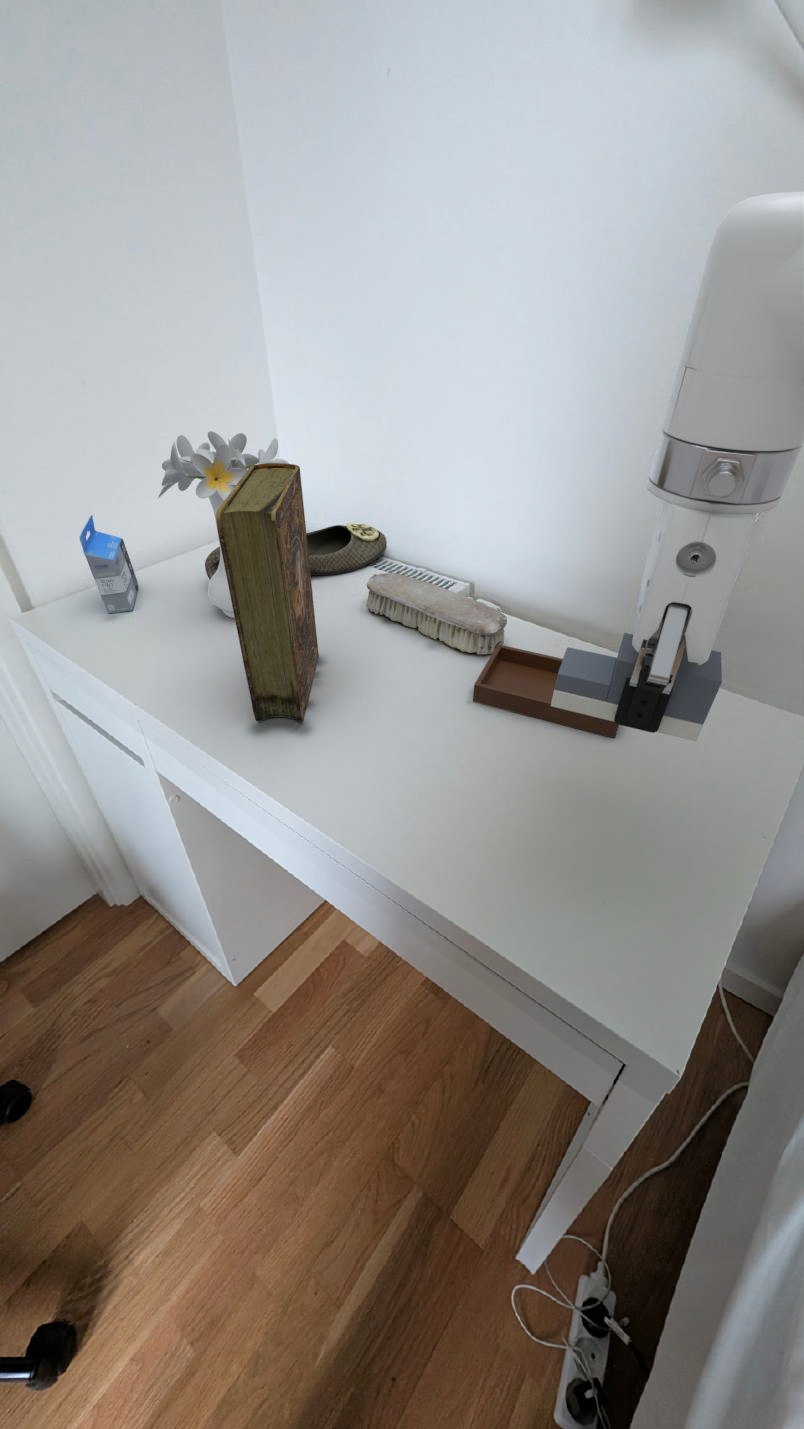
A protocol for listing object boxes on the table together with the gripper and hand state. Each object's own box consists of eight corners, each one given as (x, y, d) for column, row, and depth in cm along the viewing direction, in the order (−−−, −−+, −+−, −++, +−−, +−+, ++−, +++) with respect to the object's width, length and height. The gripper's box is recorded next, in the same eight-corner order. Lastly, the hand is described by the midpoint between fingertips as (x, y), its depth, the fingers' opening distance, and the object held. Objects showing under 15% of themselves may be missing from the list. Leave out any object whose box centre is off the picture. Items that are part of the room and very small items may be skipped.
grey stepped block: (697, 708, 47) (721, 651, 43) (696, 742, 44) (722, 682, 40) (560, 677, 50) (573, 621, 46) (550, 706, 47) (562, 648, 43)
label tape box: (133, 611, 89) (108, 534, 82) (105, 614, 89) (77, 536, 81) (139, 586, 96) (117, 512, 88) (113, 589, 95) (88, 514, 88)
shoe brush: (354, 610, 90) (353, 580, 87) (385, 592, 95) (385, 564, 91) (485, 664, 78) (489, 632, 75) (513, 642, 83) (518, 611, 80)
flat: (399, 563, 104) (399, 521, 99) (216, 601, 92) (206, 556, 87) (374, 541, 111) (373, 502, 106) (202, 574, 100) (192, 531, 95)
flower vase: (314, 595, 94) (297, 427, 78) (230, 645, 82) (191, 458, 66) (255, 575, 99) (229, 415, 84) (169, 620, 87) (119, 442, 72)
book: (280, 651, 81) (252, 462, 65) (319, 651, 81) (301, 463, 65) (256, 726, 68) (213, 514, 52) (302, 727, 68) (274, 515, 52)
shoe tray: (625, 690, 74) (631, 673, 72) (614, 738, 67) (620, 721, 65) (495, 660, 79) (497, 644, 78) (472, 701, 72) (474, 684, 70)
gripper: (805, 526, 28) (684, 791, 39) (776, 442, 40) (690, 663, 51) (641, 504, 30) (572, 761, 41) (661, 431, 42) (603, 645, 53)
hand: (638, 705), depth 46 cm, fingers closed on grey stepped block, 4 cm apart
